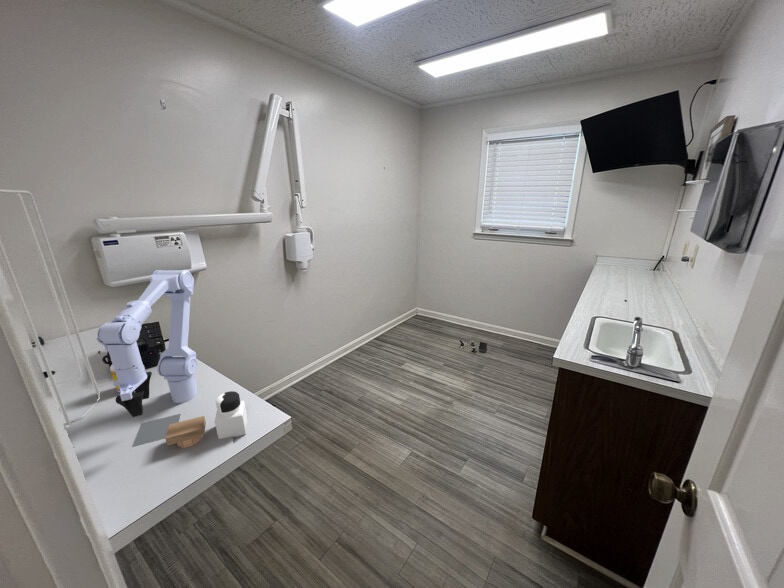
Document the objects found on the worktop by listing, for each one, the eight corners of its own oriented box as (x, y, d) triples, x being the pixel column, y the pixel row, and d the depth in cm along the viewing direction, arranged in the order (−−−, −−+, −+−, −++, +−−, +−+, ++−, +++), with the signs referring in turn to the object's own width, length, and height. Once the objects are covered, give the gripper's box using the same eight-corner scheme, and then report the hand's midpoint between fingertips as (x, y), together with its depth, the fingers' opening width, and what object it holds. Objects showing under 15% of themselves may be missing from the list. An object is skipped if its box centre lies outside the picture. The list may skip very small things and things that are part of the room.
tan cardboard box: (171, 431, 87) (169, 424, 86) (205, 422, 90) (204, 415, 90) (167, 445, 82) (165, 438, 81) (204, 435, 86) (202, 428, 85)
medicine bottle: (247, 418, 96) (241, 386, 92) (246, 435, 90) (239, 400, 86) (221, 424, 94) (214, 391, 90) (218, 441, 87) (211, 406, 84)
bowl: (180, 437, 89) (178, 429, 88) (202, 431, 91) (200, 423, 90) (177, 452, 84) (174, 443, 83) (200, 445, 86) (198, 436, 85)
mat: (142, 425, 93) (141, 423, 93) (181, 415, 97) (180, 413, 97) (132, 449, 85) (131, 446, 84) (175, 437, 89) (175, 435, 88)
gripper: (117, 354, 86) (130, 395, 90) (98, 382, 74) (114, 428, 78) (148, 349, 89) (159, 389, 93) (135, 375, 77) (148, 419, 81)
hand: (141, 406), depth 86 cm, fingers open, 7 cm apart
